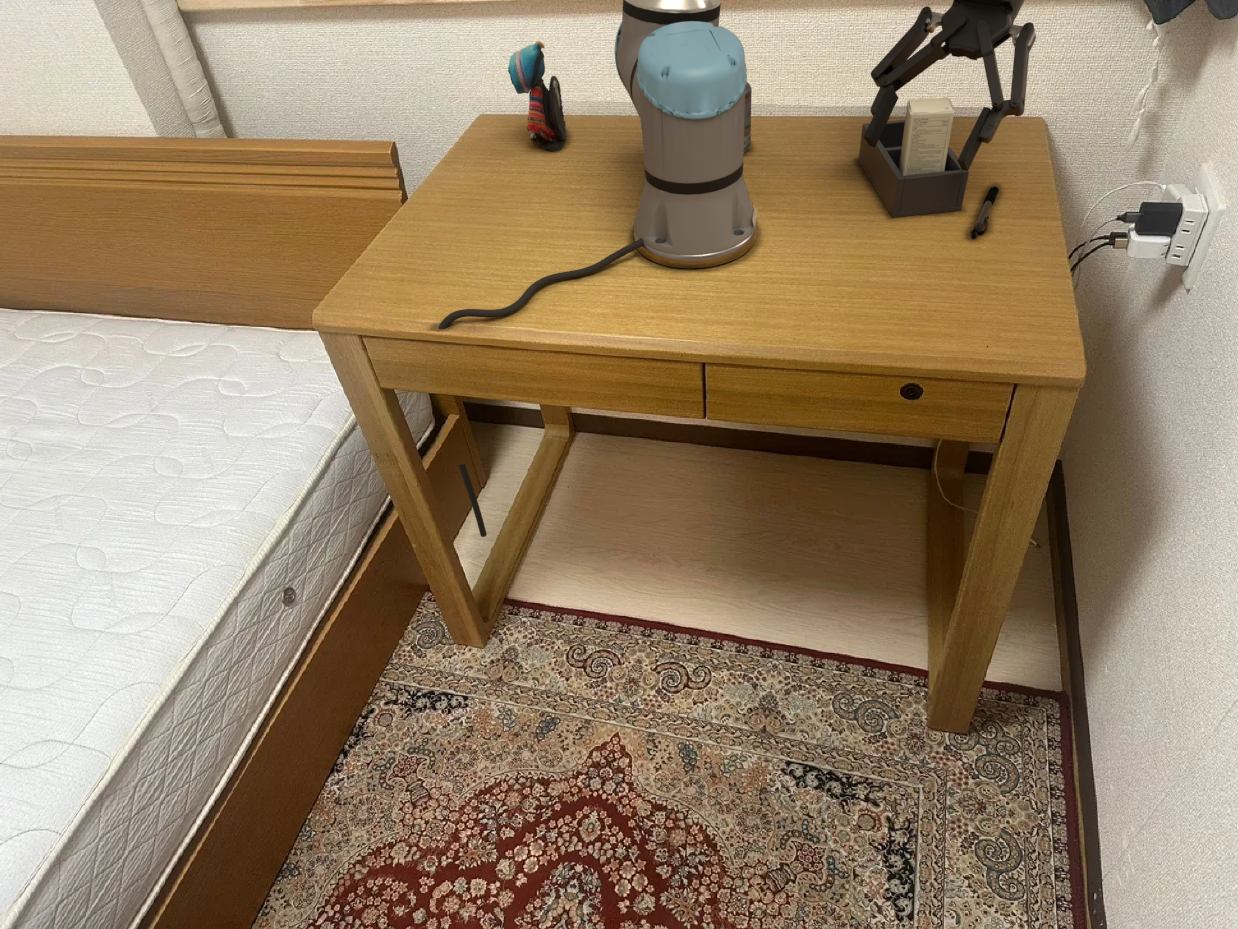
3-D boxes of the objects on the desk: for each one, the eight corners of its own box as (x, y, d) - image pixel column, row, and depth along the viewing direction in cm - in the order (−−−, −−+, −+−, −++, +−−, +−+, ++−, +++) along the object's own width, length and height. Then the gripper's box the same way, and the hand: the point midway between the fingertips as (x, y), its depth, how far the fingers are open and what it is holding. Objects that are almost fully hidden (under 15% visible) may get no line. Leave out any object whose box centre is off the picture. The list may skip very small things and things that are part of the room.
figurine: (529, 128, 135) (513, 27, 124) (573, 127, 134) (561, 24, 123) (517, 156, 128) (498, 51, 117) (563, 155, 127) (549, 49, 116)
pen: (982, 242, 101) (984, 234, 100) (967, 240, 102) (969, 232, 101) (1004, 189, 110) (1006, 181, 109) (991, 188, 110) (992, 179, 110)
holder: (892, 217, 106) (898, 178, 103) (858, 160, 118) (862, 123, 115) (961, 210, 106) (969, 171, 103) (920, 153, 118) (926, 116, 114)
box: (936, 183, 110) (952, 96, 102) (940, 199, 107) (957, 111, 99) (894, 183, 111) (907, 97, 103) (896, 199, 108) (910, 112, 100)
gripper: (1106, 9, 97) (1015, 190, 100) (913, -18, 110) (837, 144, 113) (1103, -30, 91) (1006, 164, 94) (898, -54, 103) (819, 118, 106)
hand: (914, 153), depth 103 cm, fingers open, 11 cm apart
